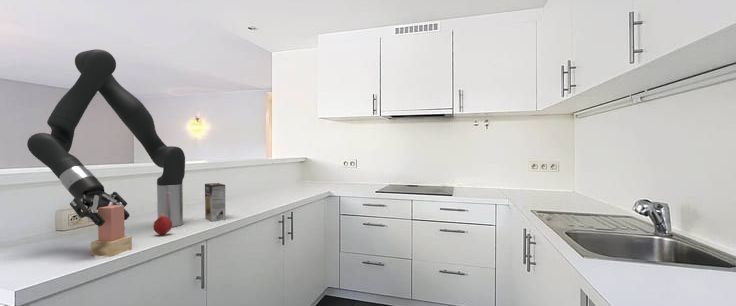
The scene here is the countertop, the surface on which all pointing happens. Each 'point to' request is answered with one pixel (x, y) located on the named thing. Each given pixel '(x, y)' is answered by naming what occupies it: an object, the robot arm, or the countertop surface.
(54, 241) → the countertop surface
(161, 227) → the onion
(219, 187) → the coffee box
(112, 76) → the robot arm
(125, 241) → the oak base block
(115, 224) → the red pillar block
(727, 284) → the countertop surface
